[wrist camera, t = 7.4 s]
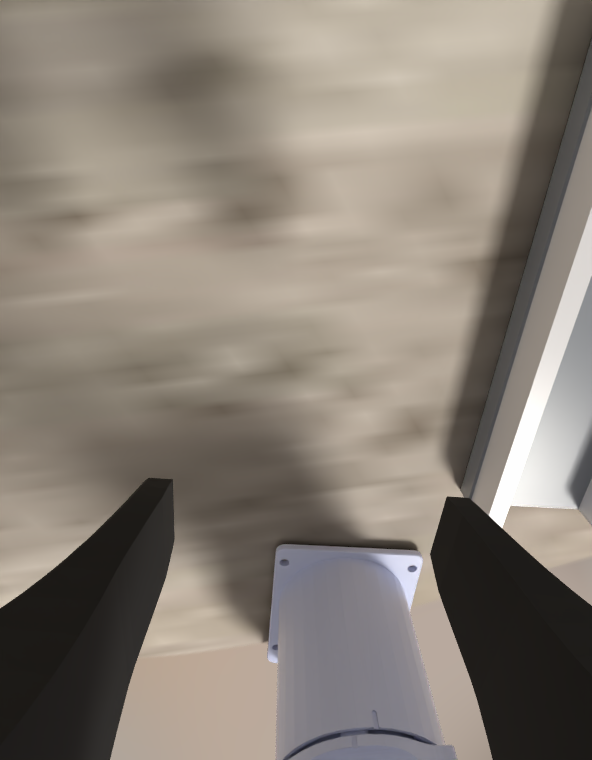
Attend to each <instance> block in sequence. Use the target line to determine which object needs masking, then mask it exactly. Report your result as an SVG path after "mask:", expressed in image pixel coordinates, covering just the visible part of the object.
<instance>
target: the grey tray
mask: <svg viewBox="0 0 592 760" xmlns="http://www.w3.org/2000/svg"><path fill="white" fill-rule="evenodd" d="M461 492H462V494H463V496H464V498H470V499H471V500H472V501H473V502H475V503H476V504H477V505H478V506H479V507H480V508H481V509H482V510H483V511H484V512H485V513H486V514H488V515H489V516H490V517H491V518H492V519H493V520H494V521H495V522H496V523H497V524H498V525H499V526H500V527H501V528H502V527H503V524H504V522H505V519H506V516H507V513H508V510H509V507H510V506H526V507H545V508H564V509H578V510H579V511H580V512H581V513H582V515H583V516H584V517H585V518H586V519H587V521H588V522H589V523H590V524H591V525H592V39H591V42H590V46H589V49H588V53H587V56H586V60H585V63H584V67H583V70H582V73H581V77H580V80H579V84H578V87H577V91H576V94H575V98H574V101H573V104H572V108H571V111H570V115H569V118H568V122H567V125H566V129H565V132H564V135H563V139H562V142H561V146H560V149H559V153H558V156H557V159H556V163H555V166H554V170H553V173H552V177H551V180H550V184H549V187H548V190H547V194H546V197H545V201H544V204H543V208H542V211H541V215H540V218H539V221H538V225H537V228H536V232H535V235H534V239H533V242H532V246H531V249H530V252H529V256H528V259H527V263H526V266H525V270H524V273H523V277H522V280H521V283H520V287H519V290H518V294H517V297H516V301H515V304H514V308H513V311H512V314H511V318H510V321H509V325H508V328H507V332H506V335H505V339H504V342H503V345H502V349H501V352H500V356H499V359H498V363H497V366H496V370H495V373H494V376H493V380H492V383H491V387H490V390H489V394H488V397H487V401H486V404H485V407H484V411H483V414H482V418H481V421H480V425H479V428H478V432H477V435H476V438H475V442H474V445H473V449H472V452H471V456H470V459H469V463H468V466H467V469H466V473H465V476H464V480H463V483H462V487H461Z"/></svg>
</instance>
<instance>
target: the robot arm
mask: <svg viewBox="0 0 592 760" xmlns="http://www.w3.org/2000/svg"><path fill="white" fill-rule="evenodd" d="M173 544H174V508H173V479H157V478H148V479H147V480H146V481H144V482H143V484H142V485H141V486H140V487H139V488H138V489H137V490H136V491H135V492H134V493H133V494H132V495H131V496H130V498H129V499H128V500H127V501H126V502H125V503H124V504H123V505H122V506H121V507H120V508H119V509H118V510H117V511H116V512H115V513H114V514H113V515H112V516H111V517H110V518H109V519H108V520H107V521H106V522H105V523H104V524H103V525H102V526H101V527H100V528H99V529H98V530H97V531H96V532H95V533H94V534H93V535H92V536H91V537H90V538H88V539H87V540H86V541H85V542H84V543H83V544H82V545H81V546H79V547H78V548H77V549H76V550H75V551H74V552H73V553H72V554H70V555H69V556H68V557H67V558H66V559H65V560H64V561H62V562H61V563H60V564H59V565H58V566H56V567H55V568H54V569H53V570H52V571H50V572H49V573H48V574H47V575H45V576H44V577H43V578H42V579H40V580H39V581H38V582H36V583H35V584H34V585H32V586H31V587H30V588H29V589H27V590H26V591H25V592H23V593H22V594H20V595H19V596H18V597H16V598H15V599H13V600H12V601H10V602H9V603H8V604H6V605H5V606H3V607H2V608H0V760H110V757H111V752H112V749H113V745H114V740H115V737H116V732H117V728H118V724H119V721H120V717H121V713H122V709H123V705H124V701H125V697H126V694H127V690H128V686H129V683H130V679H131V676H132V673H133V670H134V667H135V663H136V661H137V658H138V655H139V652H140V649H141V647H142V644H143V641H144V638H145V635H146V633H147V630H148V627H149V624H150V621H151V618H152V616H153V613H154V610H155V607H156V604H157V602H158V599H159V596H160V593H161V590H162V587H163V584H164V581H165V578H166V575H167V570H168V566H169V562H170V558H171V553H172V549H173ZM430 555H431V560H432V564H433V569H434V574H435V578H436V582H437V586H438V590H439V594H440V596H441V599H442V602H443V605H444V608H445V611H446V613H447V616H448V619H449V622H450V624H451V627H452V630H453V633H454V635H455V638H456V640H457V644H458V646H459V649H460V652H461V654H462V657H463V660H464V663H465V665H466V668H467V671H468V673H469V676H470V679H471V682H472V685H473V688H474V691H475V694H476V697H477V701H478V705H479V708H480V712H481V716H482V720H483V723H484V727H485V730H486V735H487V738H488V742H489V746H490V750H491V754H492V758H493V760H592V606H591V605H590V604H589V603H587V602H586V601H585V600H584V599H582V598H581V597H580V596H578V595H577V594H576V593H575V592H573V591H572V590H571V589H570V588H569V587H567V586H566V585H565V584H564V583H563V582H561V581H560V580H559V579H558V578H557V577H555V576H554V575H553V574H552V573H551V572H549V571H548V570H547V569H546V568H545V567H544V566H543V565H541V564H540V563H539V562H538V561H537V560H536V559H535V558H534V557H532V556H531V555H530V554H529V553H528V552H527V551H526V550H525V549H524V548H523V547H521V546H520V545H519V544H518V543H517V542H516V541H515V540H514V539H513V538H512V537H511V536H510V535H509V534H508V533H506V532H505V531H504V530H503V529H502V528H501V527H500V526H499V525H498V524H497V523H496V522H495V521H494V520H493V519H492V518H491V517H490V516H489V515H488V514H486V513H485V512H484V511H483V510H482V509H481V508H480V507H479V506H478V505H477V504H476V503H475V502H473V501H472V500H471V499H470V498H461V497H447V498H446V501H445V505H444V508H443V512H442V515H441V519H440V522H439V525H438V529H437V532H436V536H435V539H434V543H433V546H432V550H431V553H430ZM282 559H286V560H285V561H283V560H282ZM422 564H423V558H422V555H421V553H420V552H418V551H415V550H398V549H378V548H357V547H337V546H316V545H295V544H282V545H280V546H278V547H277V549H276V554H275V567H274V579H273V591H272V603H271V616H270V628H269V640H268V653H267V658H268V660H269V661H271V662H273V663H278V676H277V721H276V760H458V759H457V756H456V752H455V749H454V746H452V745H445V741H444V737H443V734H442V730H441V726H440V723H439V719H438V715H437V711H436V708H435V704H434V700H433V696H432V693H431V689H430V685H429V681H428V678H427V674H426V671H425V667H424V663H423V659H422V655H421V652H420V648H419V645H418V640H417V637H416V633H415V629H414V626H413V622H412V618H411V614H410V608H411V604H412V601H413V597H414V593H415V590H416V586H417V582H418V578H419V575H420V571H421V567H422ZM411 565H413V566H411Z"/></svg>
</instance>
